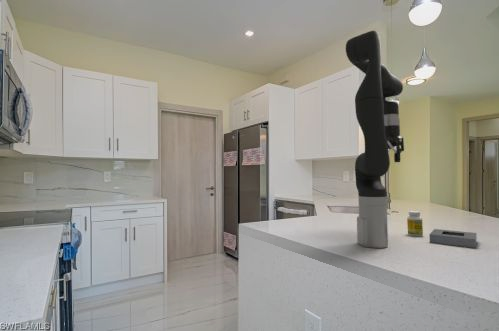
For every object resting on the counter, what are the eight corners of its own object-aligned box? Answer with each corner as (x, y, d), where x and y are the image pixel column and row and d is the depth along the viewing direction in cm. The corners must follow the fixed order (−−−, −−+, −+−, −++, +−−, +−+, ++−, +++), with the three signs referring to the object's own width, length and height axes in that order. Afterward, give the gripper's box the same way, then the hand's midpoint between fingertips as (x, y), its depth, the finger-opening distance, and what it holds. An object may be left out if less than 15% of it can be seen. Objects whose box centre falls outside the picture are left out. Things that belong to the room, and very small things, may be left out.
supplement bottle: (415, 233, 117) (414, 210, 117) (426, 236, 112) (425, 212, 112) (404, 234, 116) (403, 211, 116) (415, 236, 110) (414, 212, 111)
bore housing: (475, 248, 92) (475, 239, 93) (429, 242, 101) (429, 234, 101) (476, 241, 102) (476, 233, 102) (434, 236, 111) (434, 228, 111)
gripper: (409, 122, 115) (410, 161, 114) (388, 128, 129) (389, 163, 128) (392, 122, 114) (393, 161, 113) (372, 128, 128) (373, 163, 128)
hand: (391, 162), depth 121 cm, fingers open, 8 cm apart
